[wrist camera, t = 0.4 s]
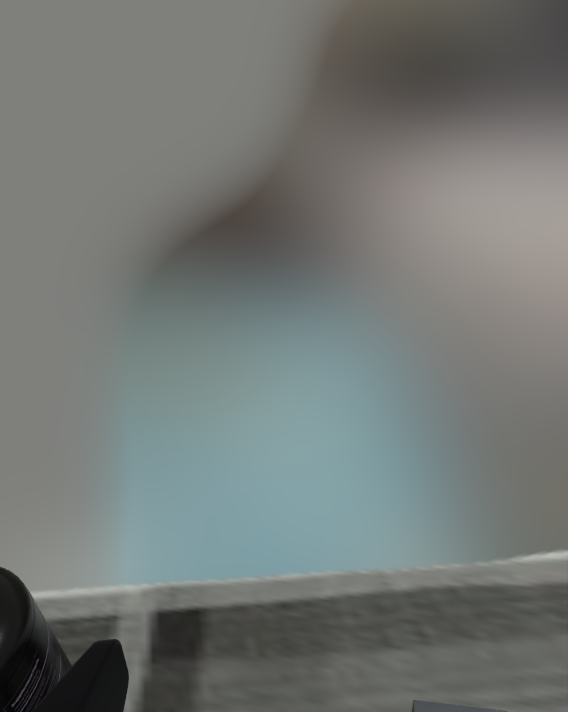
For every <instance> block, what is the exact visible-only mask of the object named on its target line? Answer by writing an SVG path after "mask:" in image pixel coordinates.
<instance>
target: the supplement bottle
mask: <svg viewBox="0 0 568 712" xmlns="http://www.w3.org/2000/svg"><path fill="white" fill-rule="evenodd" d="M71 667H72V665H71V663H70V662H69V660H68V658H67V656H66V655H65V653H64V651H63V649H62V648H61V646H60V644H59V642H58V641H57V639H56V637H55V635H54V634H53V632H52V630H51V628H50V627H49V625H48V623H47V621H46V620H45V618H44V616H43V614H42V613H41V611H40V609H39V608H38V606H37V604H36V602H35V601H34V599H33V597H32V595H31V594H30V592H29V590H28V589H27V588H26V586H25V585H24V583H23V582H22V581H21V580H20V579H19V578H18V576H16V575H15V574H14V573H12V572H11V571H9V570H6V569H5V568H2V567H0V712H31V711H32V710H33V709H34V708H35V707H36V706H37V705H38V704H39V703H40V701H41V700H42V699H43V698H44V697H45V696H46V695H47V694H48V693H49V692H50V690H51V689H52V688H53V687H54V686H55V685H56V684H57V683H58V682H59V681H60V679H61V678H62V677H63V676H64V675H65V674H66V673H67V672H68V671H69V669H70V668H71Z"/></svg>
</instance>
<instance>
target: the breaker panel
mask: <svg viewBox="0 0 568 712" xmlns="http://www.w3.org/2000/svg"><path fill="white" fill-rule="evenodd" d="M412 712H507V711H502V710H494V709H485V708H477V707H468V706H460V705H451V704H443V703H434V702H426V701H417V700H413V707H412Z"/></svg>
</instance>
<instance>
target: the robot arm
mask: <svg viewBox="0 0 568 712" xmlns="http://www.w3.org/2000/svg"><path fill="white" fill-rule="evenodd" d="M128 681H129V675H128V669H127V665H126V661H125V657H124V653H123V649H122V646H121V643H120V641H119V640H117V639H110V640H100V641H97V642H95V643H94V644H92V645H91V646H90V647H89V649H88V650H87V651H86V652H85V653H84V654H83V655H82V656H81V657H80V658H79V660H78V661H77V662H76V663H75V664H74V665H73V666H72V667H71V668H70V669H69V671H68V672H67V673H66V674H65V675H64V676H63V677H62V678H61V679H60V681H59V682H58V683H57V684H56V685H55V686H54V687H53V688H52V689H51V690H50V692H49V693H48V694H47V695H46V696H45V697H44V698H43V699H42V700H41V701H40V703H39V704H38V705H37V706H36V707H35V708H34V709H33V710H32V711H31V712H123V710H124V705H125V699H126V694H127V689H128Z"/></svg>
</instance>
